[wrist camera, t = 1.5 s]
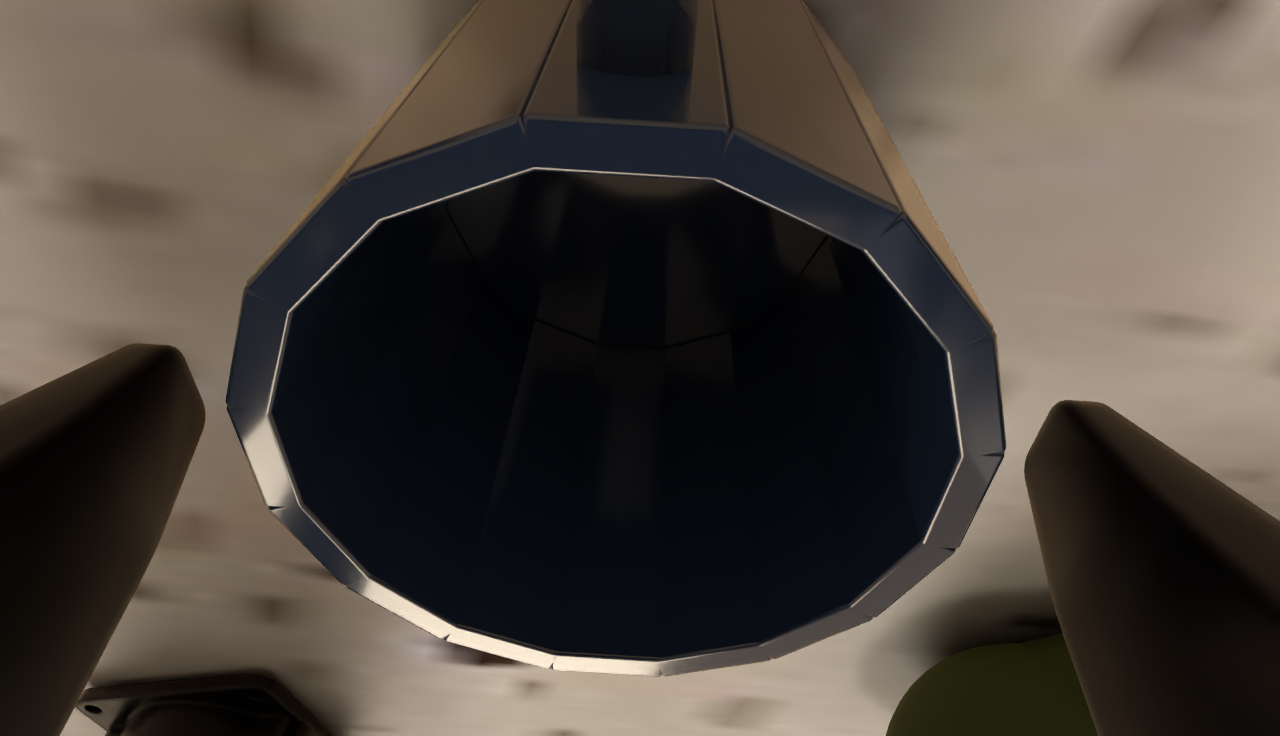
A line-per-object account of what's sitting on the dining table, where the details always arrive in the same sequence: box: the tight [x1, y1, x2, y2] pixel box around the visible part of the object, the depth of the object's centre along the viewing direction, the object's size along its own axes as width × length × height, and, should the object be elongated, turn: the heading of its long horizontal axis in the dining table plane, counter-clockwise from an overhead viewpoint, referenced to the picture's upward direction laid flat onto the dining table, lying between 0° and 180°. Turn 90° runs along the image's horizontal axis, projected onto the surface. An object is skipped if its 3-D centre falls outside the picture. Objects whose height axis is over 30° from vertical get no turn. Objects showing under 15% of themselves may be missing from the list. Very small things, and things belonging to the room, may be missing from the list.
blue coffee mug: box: [226, 0, 1006, 677], centre depth 9 cm, size 10×7×6 cm
